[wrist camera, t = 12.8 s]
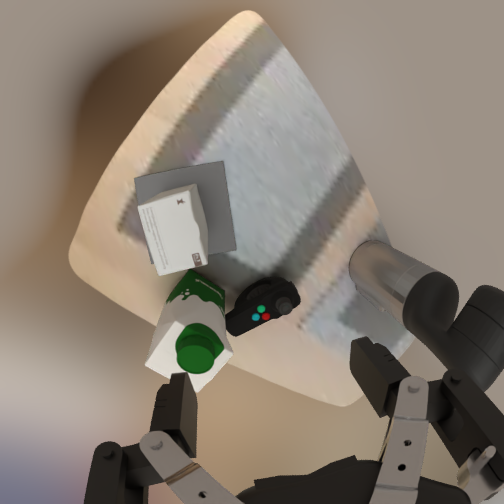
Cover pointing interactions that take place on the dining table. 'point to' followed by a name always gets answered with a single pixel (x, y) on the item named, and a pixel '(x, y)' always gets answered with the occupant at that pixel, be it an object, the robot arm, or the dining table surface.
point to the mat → (210, 193)
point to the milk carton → (191, 332)
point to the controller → (262, 304)
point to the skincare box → (176, 229)
